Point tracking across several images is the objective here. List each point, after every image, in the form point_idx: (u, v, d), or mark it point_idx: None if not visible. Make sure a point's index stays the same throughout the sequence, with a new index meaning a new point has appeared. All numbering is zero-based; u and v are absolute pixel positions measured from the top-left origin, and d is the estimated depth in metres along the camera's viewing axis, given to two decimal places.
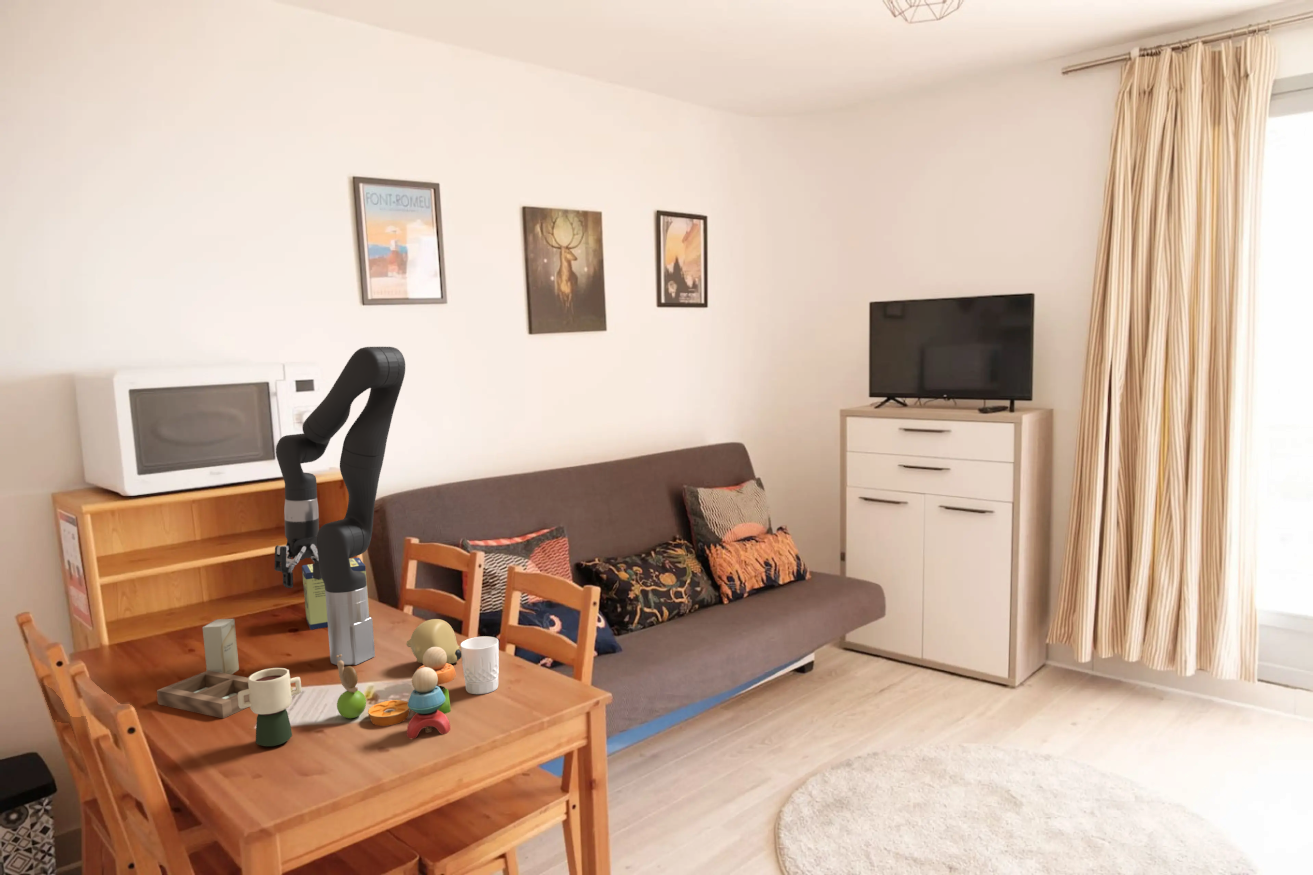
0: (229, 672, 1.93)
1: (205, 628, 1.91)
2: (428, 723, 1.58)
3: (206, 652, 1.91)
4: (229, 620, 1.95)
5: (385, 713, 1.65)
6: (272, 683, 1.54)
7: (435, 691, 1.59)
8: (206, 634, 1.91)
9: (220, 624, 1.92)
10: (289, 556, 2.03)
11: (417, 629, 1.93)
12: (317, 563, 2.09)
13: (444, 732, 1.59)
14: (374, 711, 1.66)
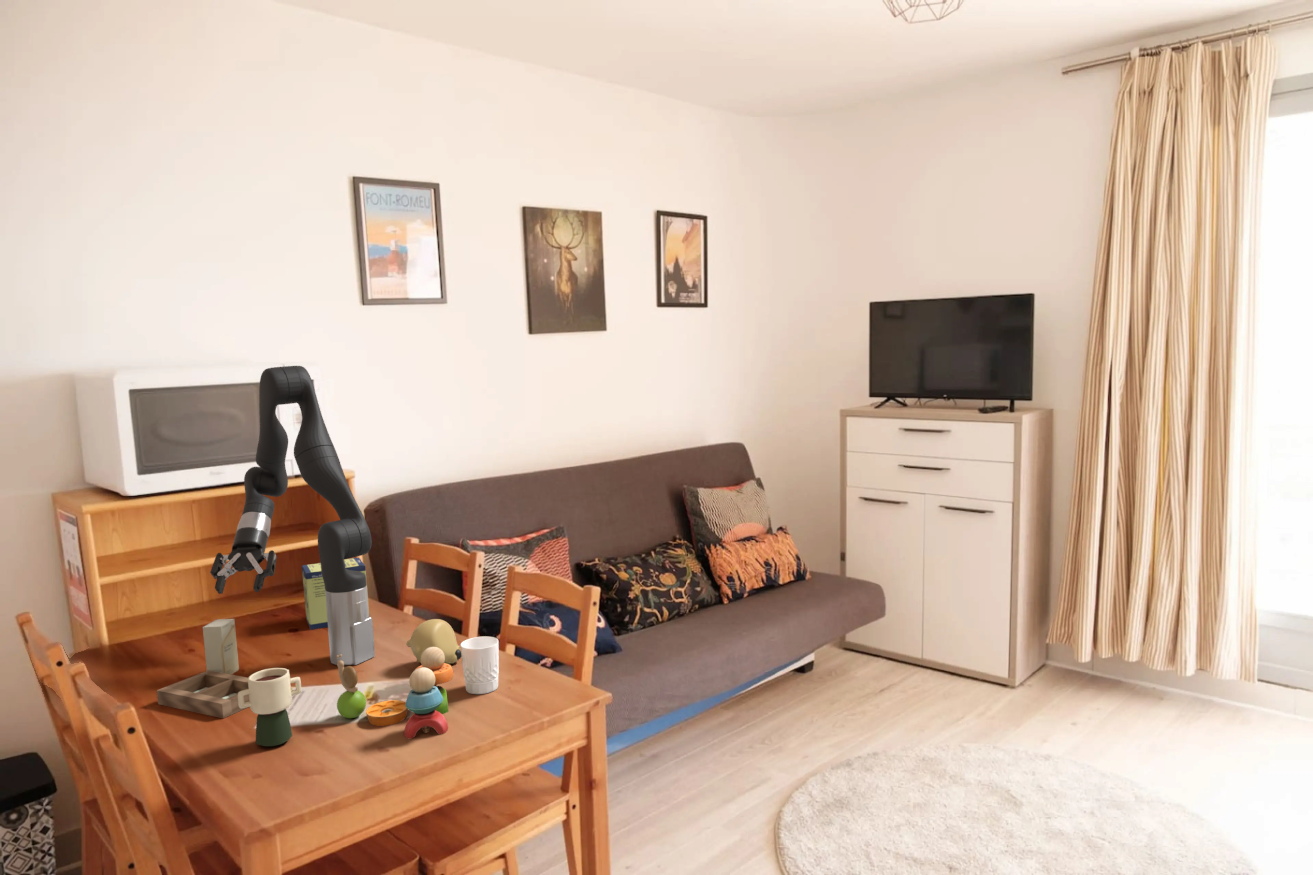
0: (229, 672, 1.93)
1: (205, 628, 1.91)
2: (426, 723, 1.58)
3: (206, 652, 1.91)
4: (229, 620, 1.95)
5: (383, 713, 1.65)
6: (272, 683, 1.54)
7: (433, 691, 1.59)
8: (206, 634, 1.91)
9: (220, 624, 1.92)
10: (234, 569, 2.10)
11: (417, 629, 1.93)
12: None
13: (442, 732, 1.59)
14: (372, 711, 1.66)
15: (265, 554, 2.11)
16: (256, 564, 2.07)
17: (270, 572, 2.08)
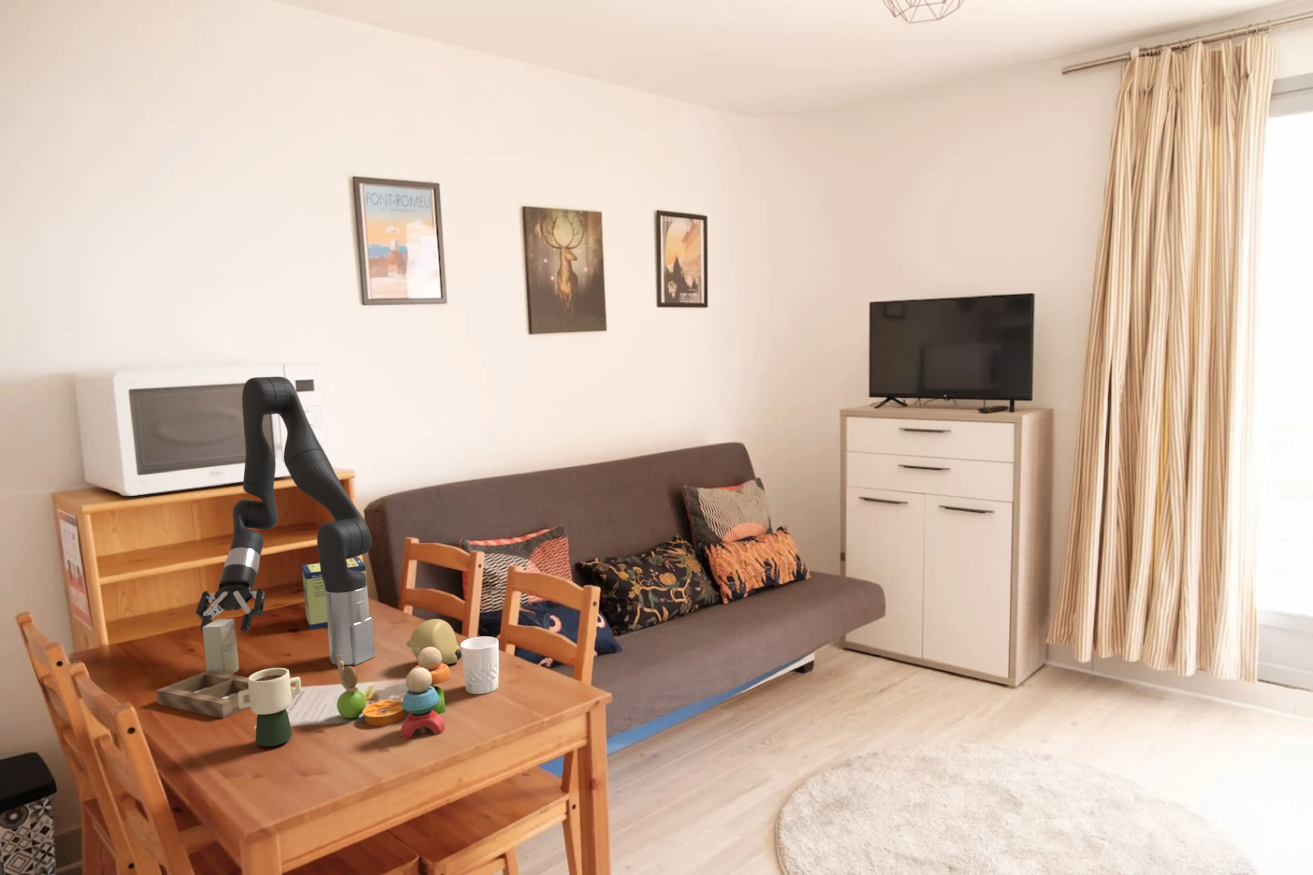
0: (229, 672, 1.93)
1: (205, 628, 1.91)
2: (422, 723, 1.58)
3: (206, 652, 1.91)
4: (229, 620, 1.95)
5: (380, 713, 1.65)
6: (272, 683, 1.54)
7: (429, 691, 1.59)
8: (206, 634, 1.91)
9: (220, 624, 1.92)
10: (220, 608, 2.01)
11: (417, 629, 1.93)
12: None
13: (438, 732, 1.59)
14: (369, 711, 1.66)
15: (253, 592, 2.02)
16: (243, 603, 1.99)
17: (258, 611, 1.99)
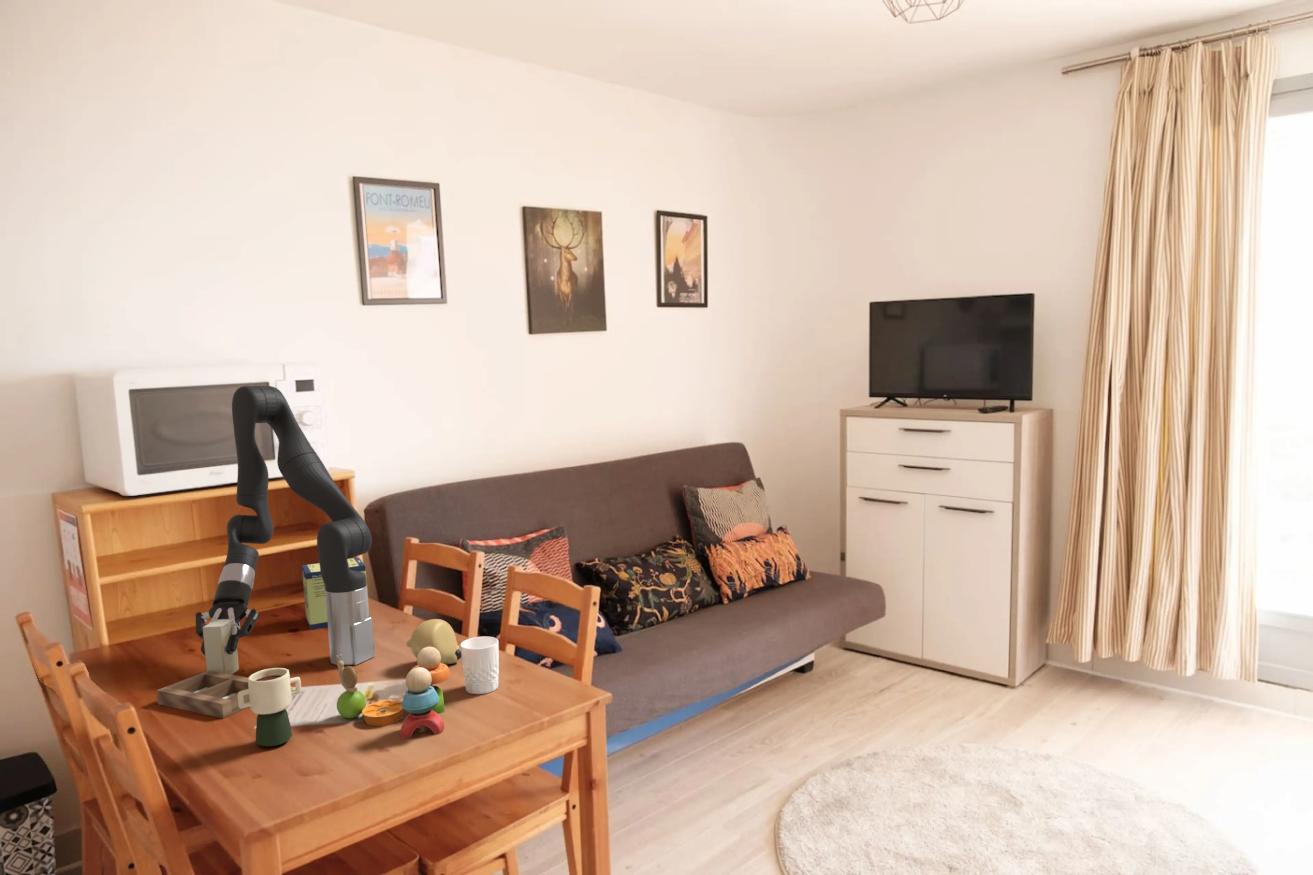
0: (229, 672, 1.93)
1: (205, 628, 1.91)
2: (422, 723, 1.58)
3: (206, 652, 1.91)
4: (229, 620, 1.95)
5: (379, 713, 1.65)
6: (272, 683, 1.54)
7: (429, 691, 1.59)
8: (206, 634, 1.91)
9: (220, 624, 1.92)
10: None
11: (417, 629, 1.93)
12: None
13: (438, 732, 1.59)
14: (368, 711, 1.66)
15: (247, 611, 1.98)
16: (233, 623, 1.95)
17: (245, 632, 1.95)
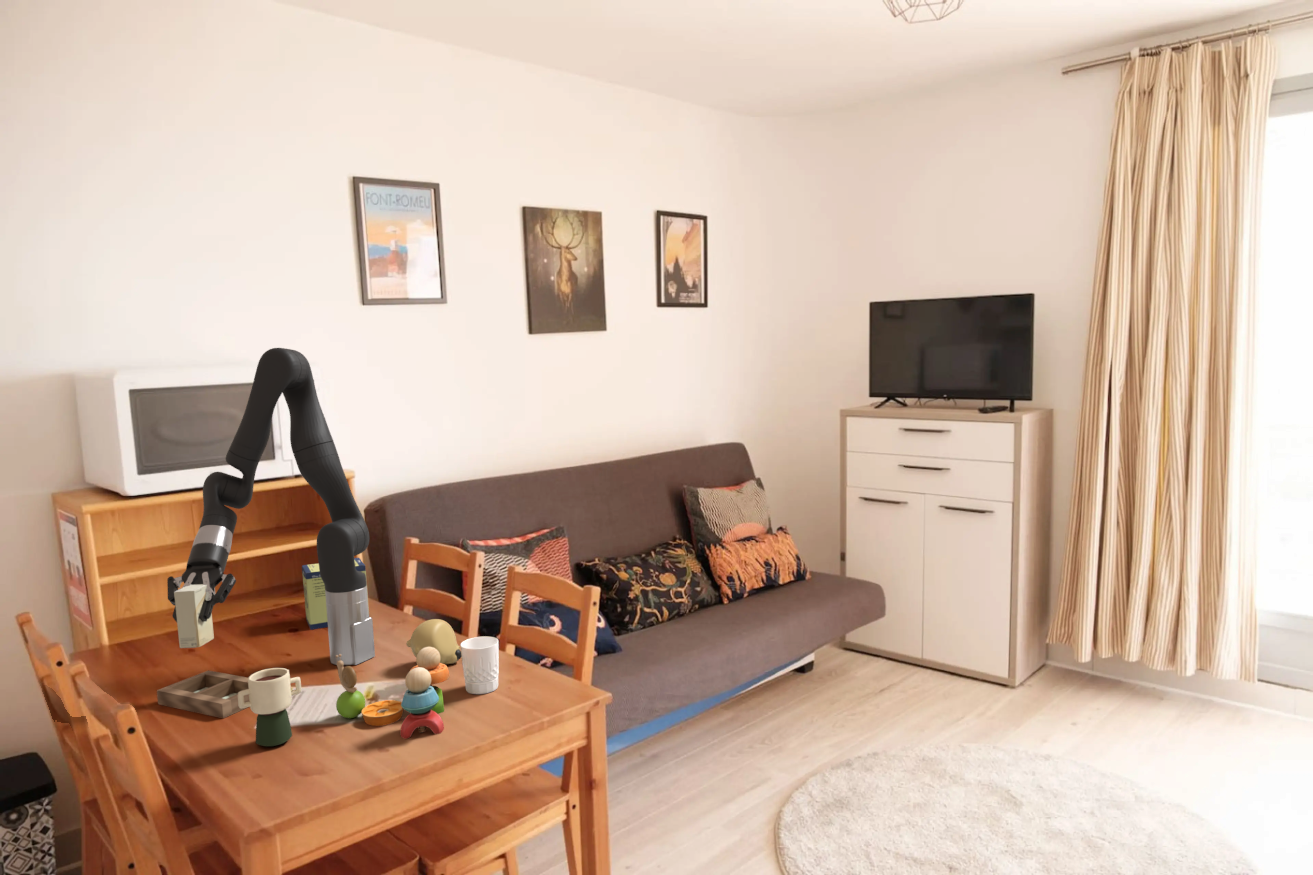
0: (204, 640, 1.79)
1: (177, 593, 1.76)
2: (422, 723, 1.58)
3: (178, 619, 1.77)
4: (203, 585, 1.81)
5: (378, 713, 1.65)
6: (272, 683, 1.54)
7: (429, 691, 1.59)
8: (178, 599, 1.76)
9: (193, 589, 1.78)
10: None
11: (417, 629, 1.93)
12: None
13: (438, 732, 1.59)
14: (367, 711, 1.66)
15: (223, 576, 1.84)
16: (207, 588, 1.81)
17: (220, 598, 1.81)
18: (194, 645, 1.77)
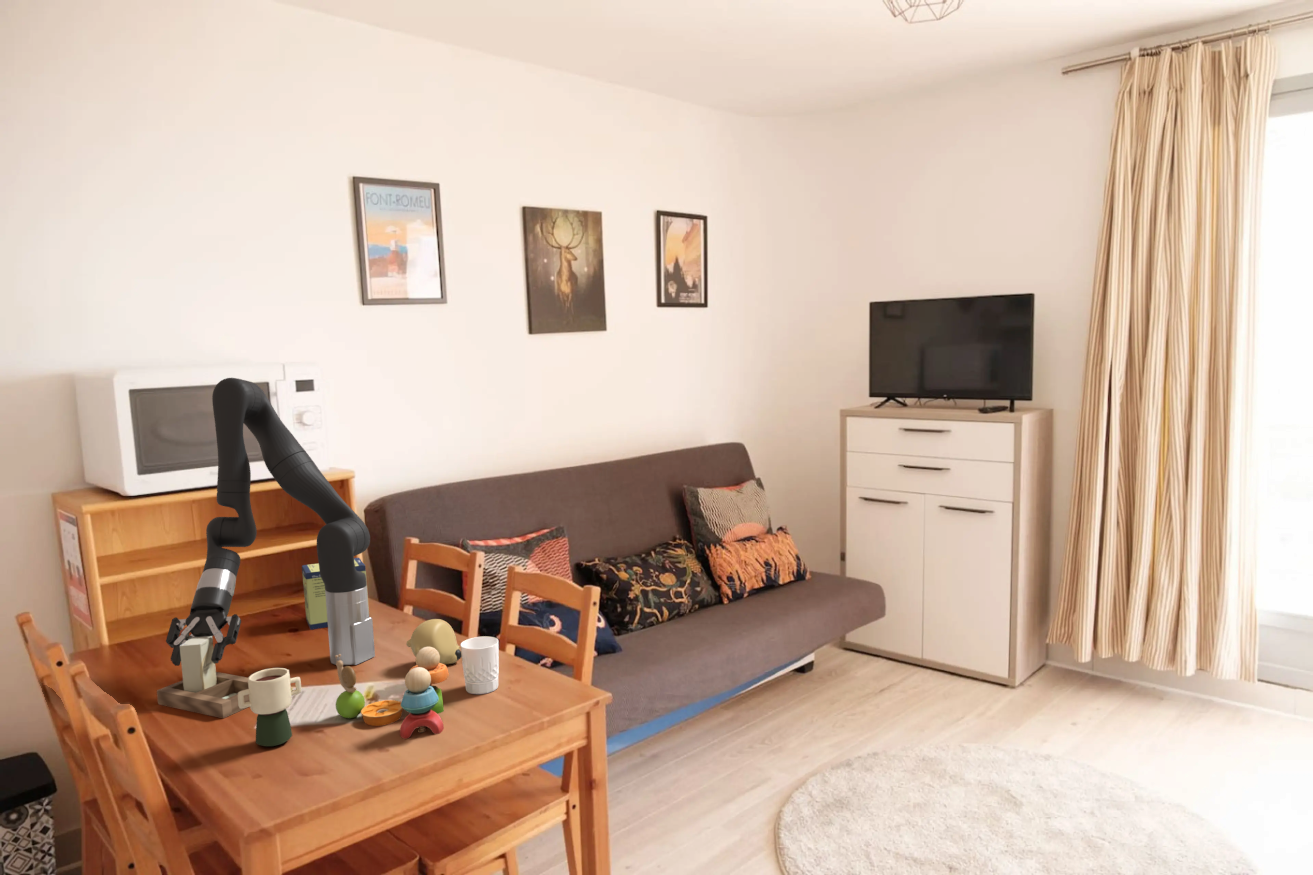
0: None
1: (182, 647, 1.77)
2: (421, 723, 1.58)
3: (184, 672, 1.78)
4: (207, 637, 1.82)
5: (378, 713, 1.65)
6: (272, 683, 1.54)
7: (428, 691, 1.59)
8: (184, 653, 1.78)
9: (199, 642, 1.79)
10: (193, 635, 1.84)
11: (417, 629, 1.93)
12: None
13: (437, 732, 1.59)
14: (367, 711, 1.66)
15: (228, 618, 1.85)
16: (216, 631, 1.82)
17: (231, 640, 1.82)
18: None
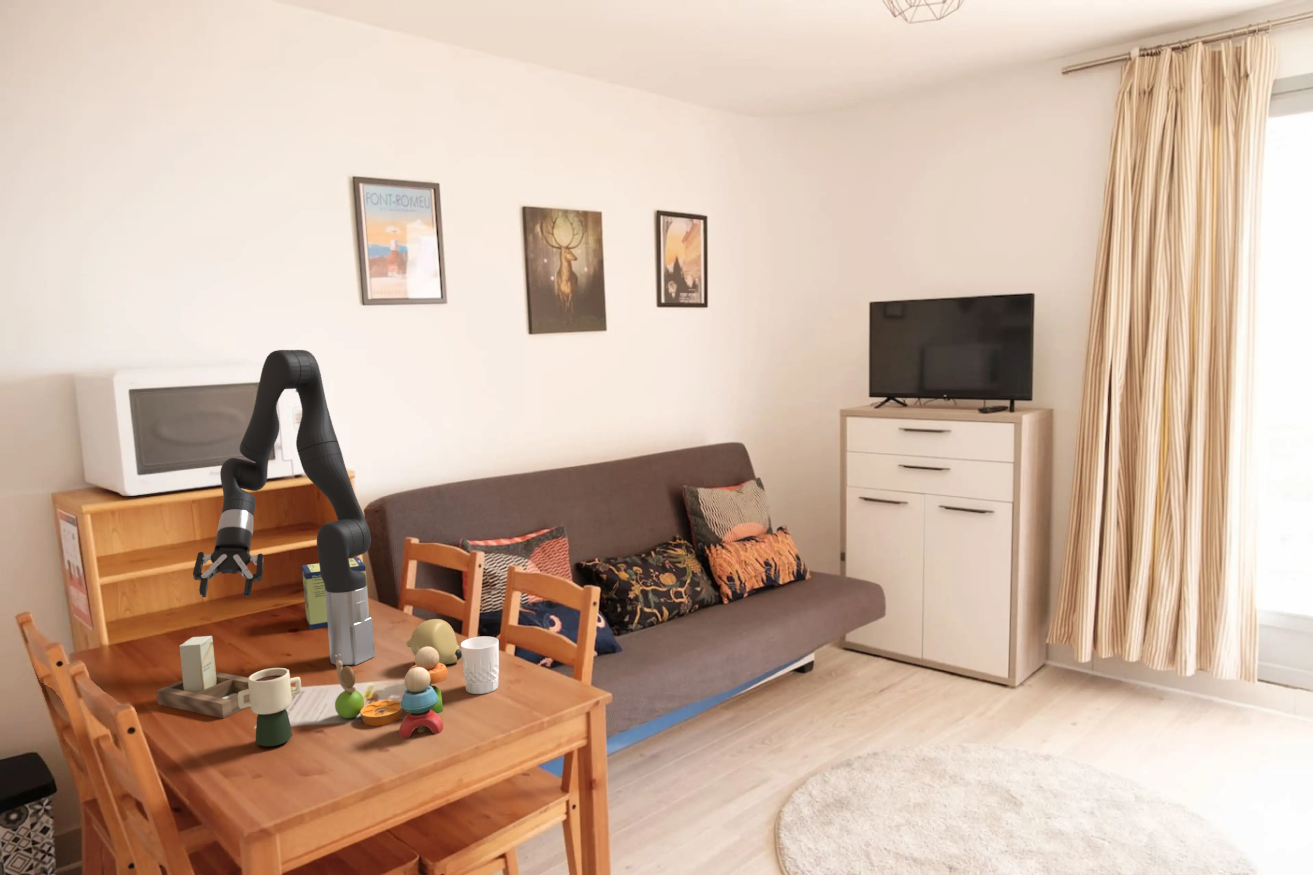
0: None
1: (182, 647, 1.77)
2: (421, 723, 1.58)
3: (183, 672, 1.78)
4: (207, 637, 1.82)
5: (377, 713, 1.65)
6: (272, 683, 1.54)
7: (428, 691, 1.59)
8: (183, 653, 1.78)
9: (198, 642, 1.79)
10: (216, 570, 1.97)
11: (417, 629, 1.93)
12: (246, 580, 1.96)
13: (437, 732, 1.59)
14: (366, 711, 1.66)
15: (252, 557, 2.00)
16: (245, 568, 1.97)
17: (260, 577, 1.98)
18: None
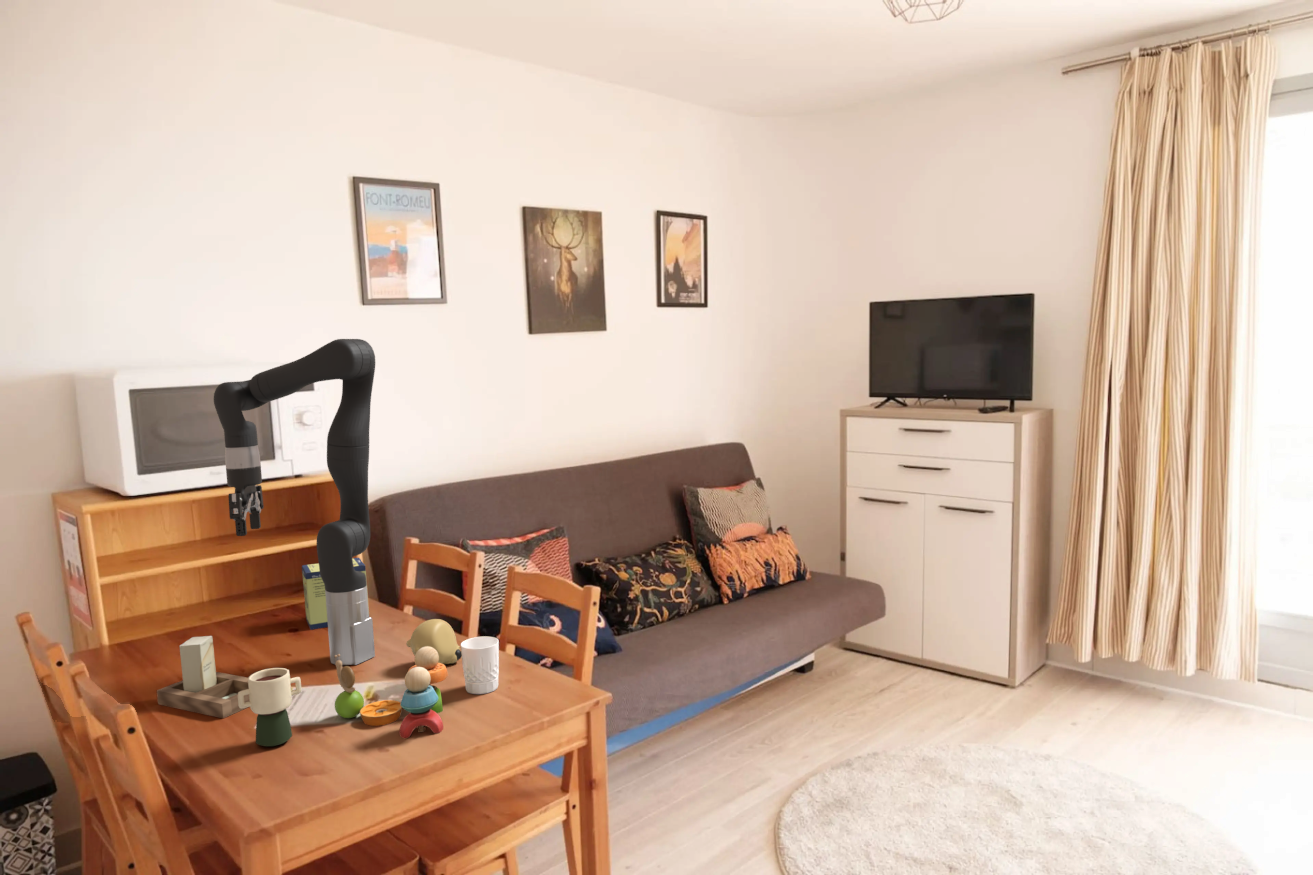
0: None
1: (182, 647, 1.77)
2: (421, 722, 1.58)
3: (183, 672, 1.78)
4: (207, 637, 1.82)
5: (377, 713, 1.65)
6: (272, 683, 1.54)
7: (428, 690, 1.59)
8: (183, 653, 1.78)
9: (198, 642, 1.79)
10: None
11: (417, 629, 1.93)
12: (255, 512, 2.09)
13: (437, 731, 1.59)
14: (366, 711, 1.66)
15: None
16: (259, 503, 2.08)
17: None
18: None
